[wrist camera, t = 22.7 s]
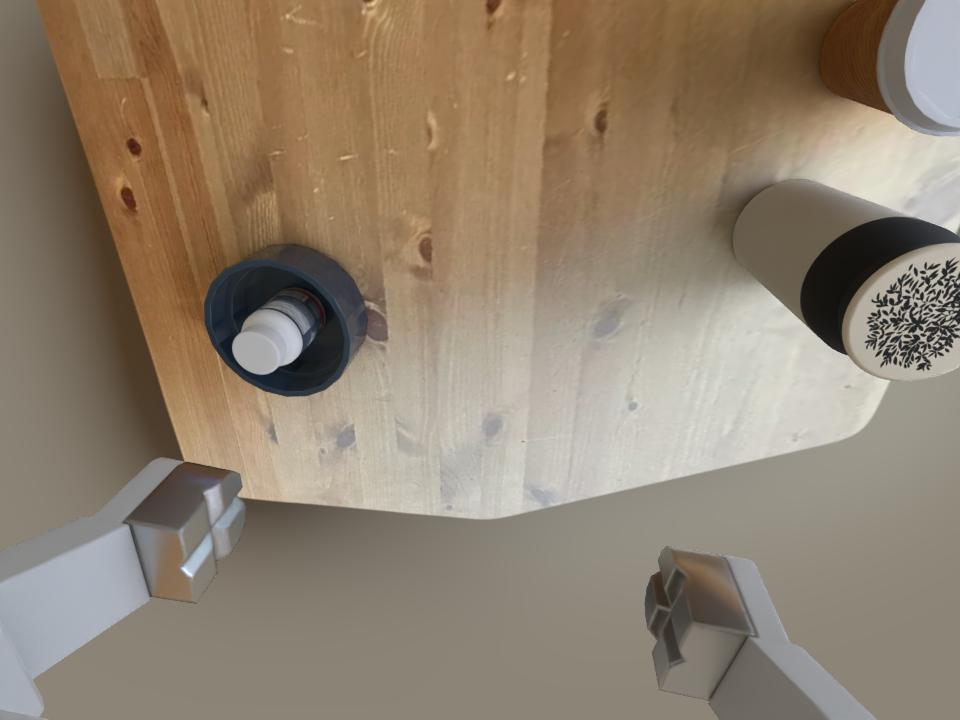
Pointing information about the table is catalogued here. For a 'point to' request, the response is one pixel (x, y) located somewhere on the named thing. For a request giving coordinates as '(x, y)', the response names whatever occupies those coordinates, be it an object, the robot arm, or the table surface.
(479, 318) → the table surface
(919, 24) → the disposable coffee cup
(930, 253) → the travel mug
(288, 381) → the bowl
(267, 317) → the pill bottle
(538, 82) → the table surface
